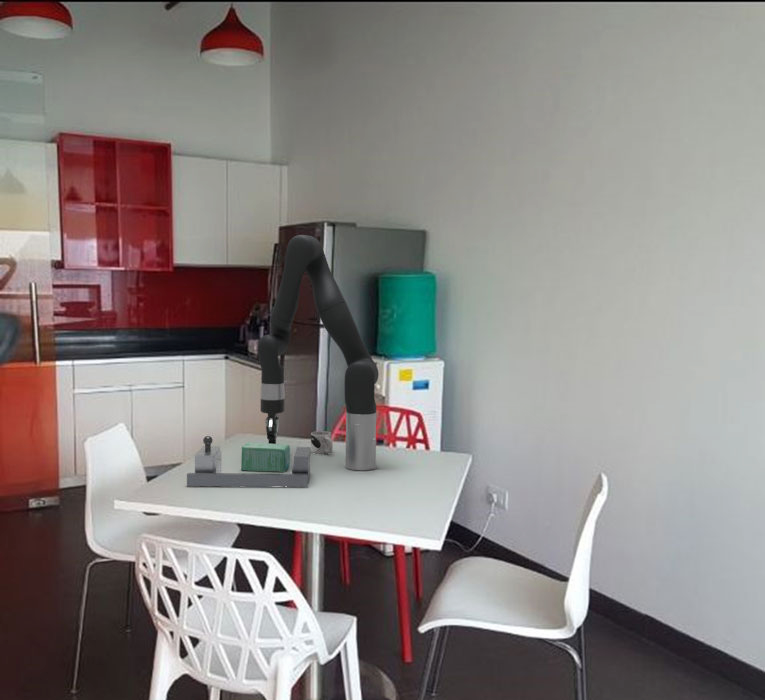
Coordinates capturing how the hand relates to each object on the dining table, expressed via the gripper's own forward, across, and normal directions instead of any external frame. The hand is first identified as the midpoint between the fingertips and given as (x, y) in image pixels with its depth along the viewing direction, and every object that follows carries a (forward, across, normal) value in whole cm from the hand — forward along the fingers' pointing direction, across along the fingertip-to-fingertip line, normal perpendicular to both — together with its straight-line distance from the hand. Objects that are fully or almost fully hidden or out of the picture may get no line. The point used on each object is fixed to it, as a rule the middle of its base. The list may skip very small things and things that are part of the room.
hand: (272, 451), depth 232 cm
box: (+3, -11, +1) cm, 11 cm away
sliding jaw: (+3, -22, +16) cm, 27 cm away
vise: (+3, -24, +3) cm, 24 cm away
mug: (+3, +10, -16) cm, 19 cm away
